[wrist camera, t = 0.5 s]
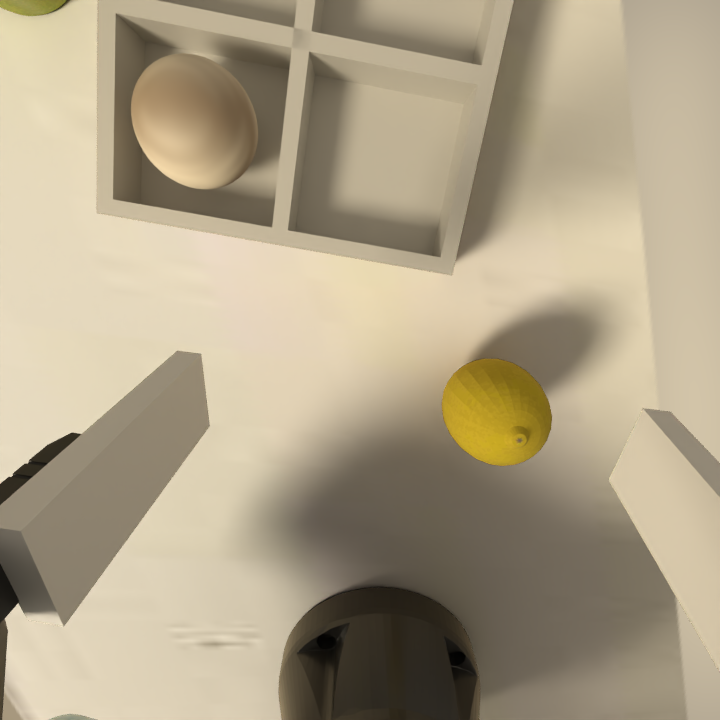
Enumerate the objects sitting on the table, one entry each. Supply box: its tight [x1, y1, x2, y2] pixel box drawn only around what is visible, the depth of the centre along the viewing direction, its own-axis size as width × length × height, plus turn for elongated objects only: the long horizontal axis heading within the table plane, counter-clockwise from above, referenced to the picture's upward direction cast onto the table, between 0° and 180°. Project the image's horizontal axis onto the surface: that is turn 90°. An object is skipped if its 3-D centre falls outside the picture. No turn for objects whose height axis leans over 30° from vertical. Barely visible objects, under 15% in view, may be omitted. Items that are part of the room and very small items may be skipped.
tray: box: [97, 0, 514, 275], centre depth 21 cm, size 18×18×4 cm
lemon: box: [442, 359, 552, 466], centre depth 23 cm, size 6×6×8 cm
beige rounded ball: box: [131, 53, 258, 189], centre depth 20 cm, size 6×6×6 cm
